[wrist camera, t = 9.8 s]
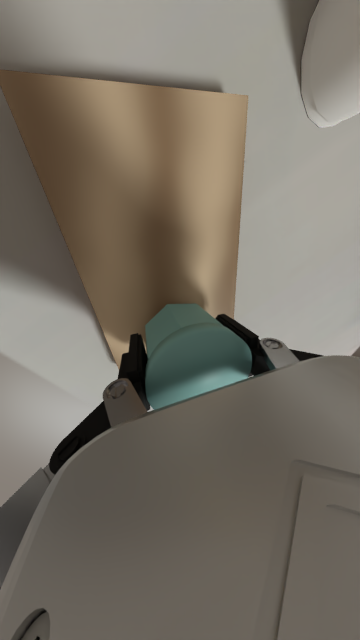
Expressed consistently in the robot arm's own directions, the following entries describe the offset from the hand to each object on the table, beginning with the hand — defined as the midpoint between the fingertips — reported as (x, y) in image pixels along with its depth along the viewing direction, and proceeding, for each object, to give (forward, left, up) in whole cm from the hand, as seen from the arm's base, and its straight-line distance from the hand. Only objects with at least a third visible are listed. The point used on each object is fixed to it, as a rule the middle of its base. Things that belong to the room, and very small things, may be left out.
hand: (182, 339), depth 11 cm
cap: (0, 0, -1) cm, 1 cm away
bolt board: (0, -5, -3) cm, 6 cm away
